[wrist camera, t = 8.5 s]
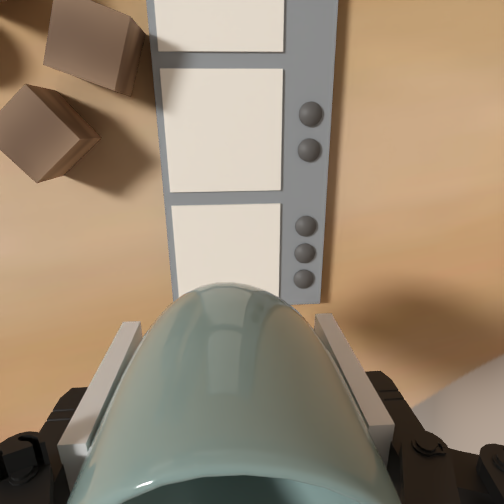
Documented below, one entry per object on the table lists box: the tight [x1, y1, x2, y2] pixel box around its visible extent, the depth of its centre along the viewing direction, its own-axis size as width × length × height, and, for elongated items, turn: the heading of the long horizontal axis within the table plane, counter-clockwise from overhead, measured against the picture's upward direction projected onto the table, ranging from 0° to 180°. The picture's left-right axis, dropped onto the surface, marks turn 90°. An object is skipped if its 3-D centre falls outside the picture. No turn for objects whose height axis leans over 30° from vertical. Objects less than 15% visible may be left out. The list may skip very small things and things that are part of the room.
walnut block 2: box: [0, 84, 101, 183], centre depth 23 cm, size 4×4×4 cm
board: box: [146, 0, 338, 305], centre depth 25 cm, size 27×12×1 cm, turn 0°
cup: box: [67, 282, 402, 504], centre depth 12 cm, size 8×8×10 cm
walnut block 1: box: [43, 0, 145, 96], centre depth 22 cm, size 4×4×4 cm
